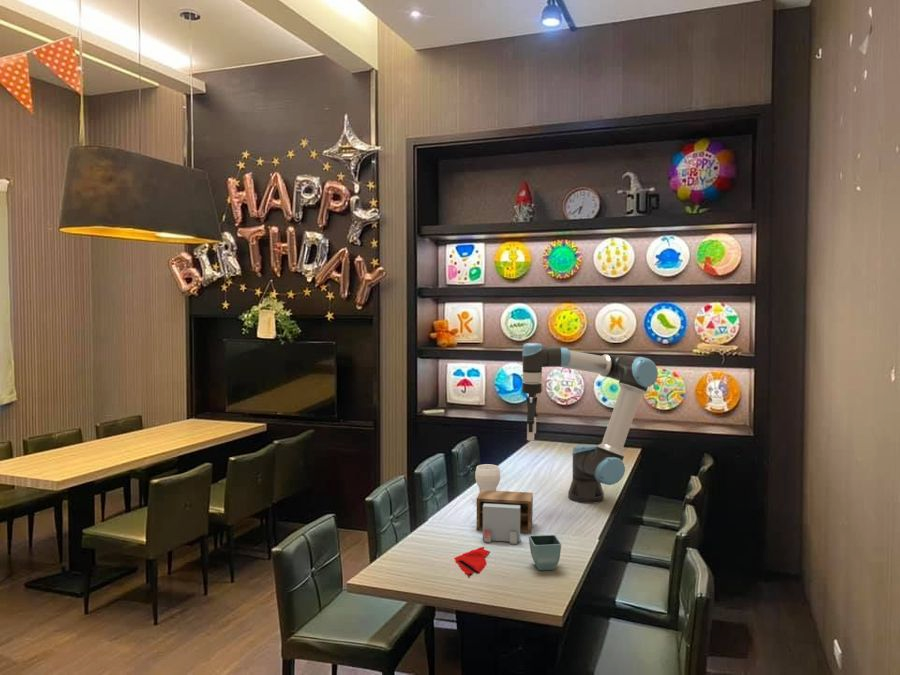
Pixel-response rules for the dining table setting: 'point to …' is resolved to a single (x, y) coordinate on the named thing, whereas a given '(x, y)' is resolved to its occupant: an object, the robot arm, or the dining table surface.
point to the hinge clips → (488, 540)
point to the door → (501, 521)
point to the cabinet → (507, 499)
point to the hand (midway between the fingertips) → (531, 436)
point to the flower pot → (545, 551)
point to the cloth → (472, 561)
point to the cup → (487, 477)
